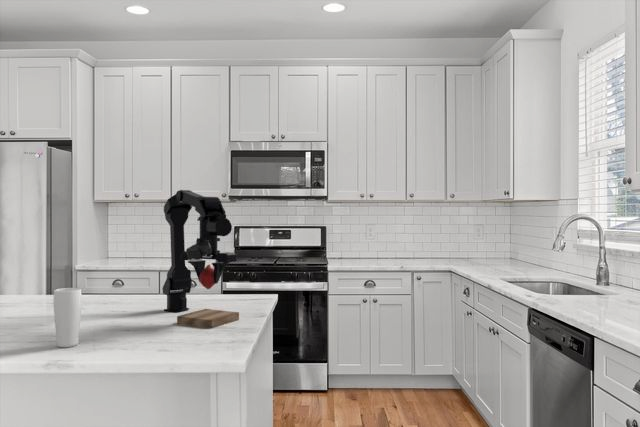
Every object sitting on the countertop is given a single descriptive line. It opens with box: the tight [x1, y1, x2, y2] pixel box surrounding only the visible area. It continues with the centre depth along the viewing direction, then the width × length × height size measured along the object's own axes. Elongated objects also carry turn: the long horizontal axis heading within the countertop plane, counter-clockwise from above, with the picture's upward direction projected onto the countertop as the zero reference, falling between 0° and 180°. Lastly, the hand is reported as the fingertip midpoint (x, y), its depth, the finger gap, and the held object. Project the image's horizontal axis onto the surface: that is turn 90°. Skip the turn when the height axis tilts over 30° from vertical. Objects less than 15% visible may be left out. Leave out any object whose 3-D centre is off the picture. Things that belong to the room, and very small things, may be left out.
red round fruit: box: [198, 264, 216, 290], centre depth 167 cm, size 6×6×8 cm
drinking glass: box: [53, 287, 83, 349], centre depth 137 cm, size 7×7×15 cm
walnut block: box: [176, 308, 240, 329], centre depth 167 cm, size 14×14×3 cm
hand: (208, 282), depth 167 cm, fingers closed on red round fruit, 6 cm apart
